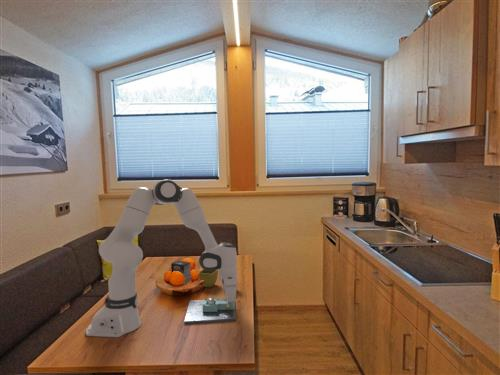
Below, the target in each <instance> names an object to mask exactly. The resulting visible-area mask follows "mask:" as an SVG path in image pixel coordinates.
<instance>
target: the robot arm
mask: <svg viewBox="0 0 500 375" xmlns="http://www.w3.org/2000/svg"><path fill="white" fill-rule="evenodd" d="M168 204H172V205H173V206H174V207H175V208H176V210H177V212H178V215H179V218H180V220H181V222H182V223H183V225H184V226H185V227H186V228H188V229H192V230H194V231H196V232H197V233H198V235H199V237H200V239H201V241H202V243H203V245H204V251H203V252H202V253H201V255H200V256H199V258H198V263H199V266H200V267H201V268H202V270H203V269H204V270H207V271H211V270H217V269H218V275H219V276H218V277H219V278H218V280H219V281H220V283H221V284H222V288H223V291H224V294H225V299H227V301H228V302H236V300H237V285H238V284H239V282H238V267H237V263H238V254H237V248H236V246H235V244H233V243H230V242H226V241H223V242H220V243H218V241H217V239H216V237H215V235H214V233H213V231H212V229H211V227H210V225H209V224H208V220H207V218H206V217H205V214H204V212H203V209H202V206H201V204H200V201H199V199H198V198H197V196H196V195H195V193H194V191H193V190H192V189H191V188H188V187H184V188H182V187H181V186H180V185H178V184H177V183H176V182H175V181H173V180H172V179H166V178H165V179H162V180H161V179H160V181H158V182H156V183H155V184H154V185H153V186H151V188H147V187H145V186H144V187H143V186H142V187H141V186H139V187H136V188H135V189H134V190H133V191H132V192H131V195H130V196H129V197H128V200H127V201H126V203H125V205H124V208H123V211H122V213H121V215H120V218H119V220H118V222H117V224H116V225H115V227H114V228H113V230H112V231H111V232H110V234H109V235H108V236H107V237H106V238H105V239H104V240H102V242H101V243H100V244H99V247H98V253H99V256H100V257H101V258H102V259H103V260H104V261H105V262H107V263H109V264H111V265H112V272H111V275H110V277H108V280H107V283H108V294H107V295H106V297H105V299H104V301H103V305H104V306H102V307H101V308H100V309H98V310H97V312H95V314H94V315H93V317H92V319H91V323H90V324H89V325H88V326H87V327H86V330H85V335H86V336H87V337H103V338H104V337H105V338H107V337H108V338H121V337H123V336H124V335H126V334H128V333H132V332H133V331H135V330H136V329H137V330H138V328H139V327H141V325H142V321H141V318H140V315H139V311H138V303H139V302H138V294H137V292H136V291H137V290H136V275H137V269H138V266H140V264H141V262H142V261H143V258H144V254H143V253H144V252H143V250H142V248H141V247H140V246H138V245H137V244H136V243H135V242H134V240H136V238H137V236H139V234H141V233H142V232H143V231H144V228H145V226H146V224H147V221H148V218H149V215H150V213H151V210H152V208H153V207H154V205H158V206H159V205H161V206H163V205H168Z"/></svg>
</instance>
